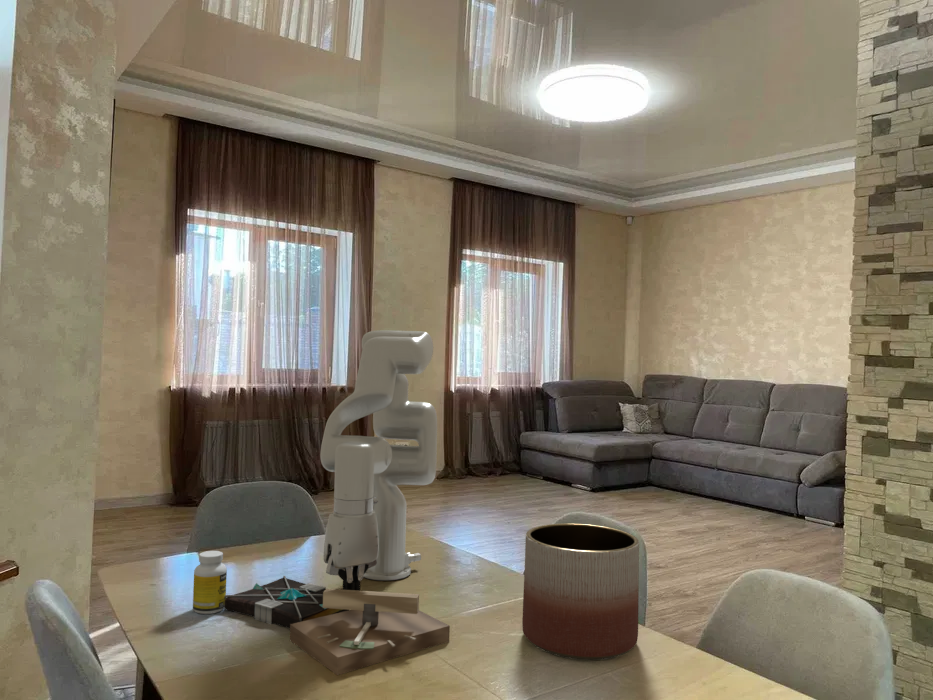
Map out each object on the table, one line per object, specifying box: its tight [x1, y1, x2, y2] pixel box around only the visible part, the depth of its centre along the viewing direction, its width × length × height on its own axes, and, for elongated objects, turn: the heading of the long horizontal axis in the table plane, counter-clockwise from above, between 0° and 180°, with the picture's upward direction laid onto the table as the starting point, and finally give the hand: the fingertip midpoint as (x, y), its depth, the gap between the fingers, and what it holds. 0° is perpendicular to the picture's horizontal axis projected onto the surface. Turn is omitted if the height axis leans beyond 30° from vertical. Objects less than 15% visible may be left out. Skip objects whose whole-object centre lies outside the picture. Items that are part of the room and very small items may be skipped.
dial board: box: [289, 610, 451, 676], centre depth 134 cm, size 24×20×3 cm
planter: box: [521, 522, 640, 661], centre depth 138 cm, size 22×22×20 cm
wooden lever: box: [323, 588, 420, 645], centre depth 130 cm, size 12×18×6 cm, turn 84°
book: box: [223, 575, 348, 630], centre depth 150 cm, size 22×17×5 cm
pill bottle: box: [192, 550, 228, 615], centre depth 148 cm, size 6×6×12 cm
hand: (351, 600), depth 138 cm, fingers closed
